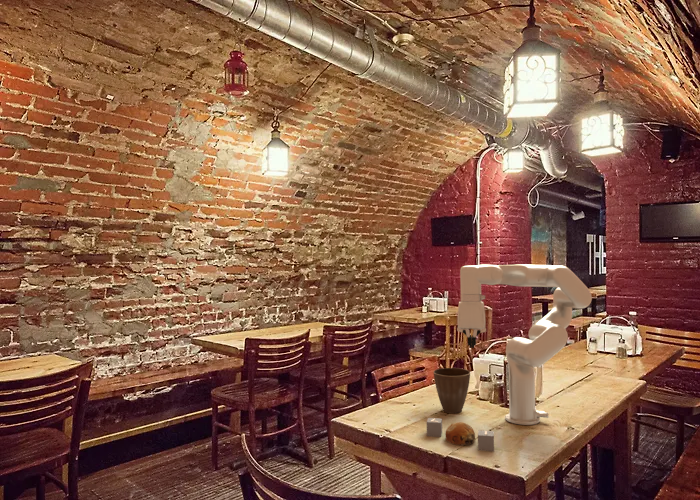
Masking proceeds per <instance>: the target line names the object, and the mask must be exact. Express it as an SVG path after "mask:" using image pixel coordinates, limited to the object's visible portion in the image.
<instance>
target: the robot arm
mask: <svg viewBox="0 0 700 500" xmlns="http://www.w3.org/2000/svg"><path fill="white" fill-rule="evenodd" d="M459 272H460V273H459V275H460V301H458V308H457V327H456V331H457V332H459V333H463V335H465V336H466V337H467V346H469V349H474V348H475V346H477V336H479V335H480V334H482V333H486V332H487V328H486V324H487V323H486V309H485V304H484V301H482V300H486V295H483V294H482V285H488V286H495V285H508V286H512V287H513V286H514V287H536V288H537V287H538V288H542V287H545V288H556V289H555V290H554V291H553V294H552V300H553V301H552V302H553V303H552V308H551V310H550V311H549V312H548V313H547V314H546V315H544V316H543V317H542V318H541V319H539V320H538V321H537V322H536V323H534V324H533V325H532V326H531V327H530V328H529V330H528V338H525V337H522V336H521V337H520V336H515V337H513V338H511V339H510V340H508V342H507V344H506V345H505V346H506V347H505V355H506V361H507V367H508V399H509V400H508V401H509V403H508V405H509V411H508V412H509V413H507V414H505V416H504V417H505V420H506V421H507V422H509V423H512V424H515V425H521V426H522V425H523V426H533V425H537V424H539V423H540V422H541V418H547V419H548V418H549V412H545V410H538V409H537V407H536V381H535V380H536V375H535V370H534V369H535V368H538V367H541V366H543V365H544V364H546V363H547V362H548V361H550V360H551V359H552V358H553V357H554V356H555V355H557V354H558V353H559V352H560V351H562V349H564V347H566V345H567V342H568V339H569V338H568V337H569V335H568V331H567V328H568V327H569V326H570V324H571V322H572V317H573V309H585V308H587V307H589V306H590V304H591V303H592V300H593V296H592V293H591V291H590V289H589V288H588V287H587V285H586V284H585V283H584V282H583V281H582V280H581V279H580V278H579V277H578V276H577V275H576V274H575V273H574V272H573V271H572V270H571V269H570V268H569V267H568V266H565V265H556V264H555V265H554V264H553V265H551V264H527V263H526V264H523V263H522V264H503V265H502V264H498V265H497V264H477V265H464V266H461V267H460V271H459ZM470 330H473V334H472V335H471V331H470Z"/></svg>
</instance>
